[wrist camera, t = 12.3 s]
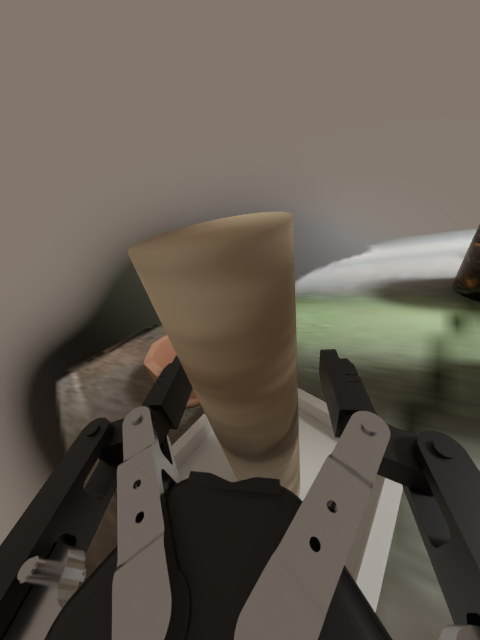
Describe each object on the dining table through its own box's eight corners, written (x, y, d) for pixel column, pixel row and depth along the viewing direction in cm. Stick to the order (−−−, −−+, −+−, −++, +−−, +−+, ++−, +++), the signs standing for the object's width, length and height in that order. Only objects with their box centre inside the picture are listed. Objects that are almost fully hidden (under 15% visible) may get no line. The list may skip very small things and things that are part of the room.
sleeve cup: (200, 346, 35) (189, 318, 32) (240, 370, 29) (232, 338, 26) (148, 384, 30) (129, 355, 27) (185, 424, 24) (166, 392, 20)
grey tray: (256, 379, 27) (253, 364, 26) (401, 464, 17) (411, 448, 15) (149, 494, 18) (134, 482, 17) (317, 812, 8) (320, 859, 7)
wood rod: (264, 434, 20) (217, 216, 9) (311, 472, 17) (324, 206, 6) (229, 482, 17) (104, 250, 6) (278, 537, 14) (193, 264, 3)
